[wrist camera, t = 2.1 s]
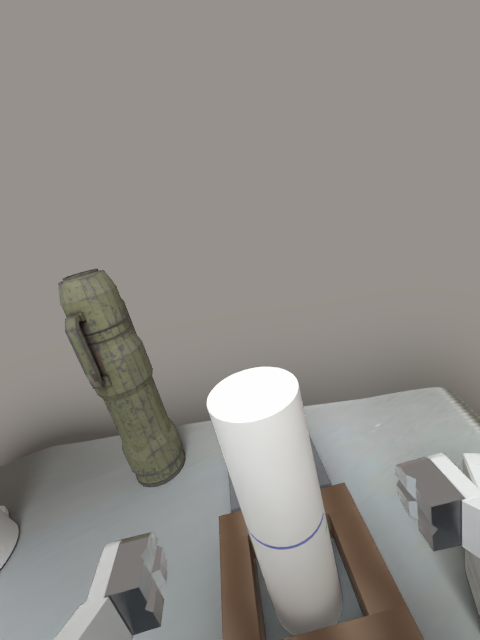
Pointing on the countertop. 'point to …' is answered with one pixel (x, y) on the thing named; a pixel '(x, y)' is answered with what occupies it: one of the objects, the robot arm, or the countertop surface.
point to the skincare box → (476, 470)
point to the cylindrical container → (279, 493)
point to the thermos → (121, 374)
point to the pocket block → (360, 563)
